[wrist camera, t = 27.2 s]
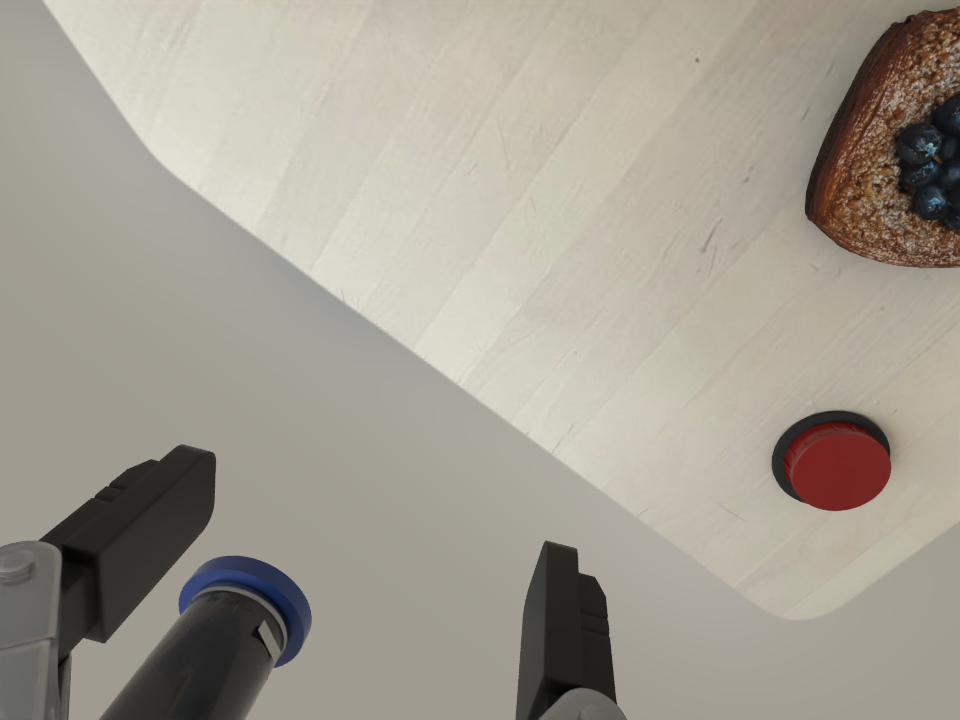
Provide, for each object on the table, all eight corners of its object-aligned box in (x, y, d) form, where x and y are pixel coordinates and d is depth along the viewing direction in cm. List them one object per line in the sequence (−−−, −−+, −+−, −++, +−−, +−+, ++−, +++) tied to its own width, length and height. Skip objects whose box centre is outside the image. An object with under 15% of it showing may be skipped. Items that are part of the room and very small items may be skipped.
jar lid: (810, 409, 36) (820, 420, 35) (898, 438, 36) (912, 451, 35) (766, 480, 39) (774, 494, 37) (849, 507, 39) (860, 523, 37)
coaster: (857, 513, 39) (860, 517, 39) (755, 488, 39) (756, 491, 39) (907, 425, 36) (911, 428, 36) (797, 399, 37) (799, 402, 36)
